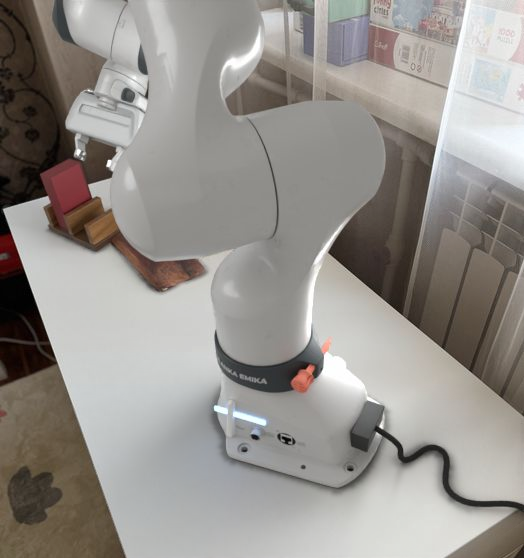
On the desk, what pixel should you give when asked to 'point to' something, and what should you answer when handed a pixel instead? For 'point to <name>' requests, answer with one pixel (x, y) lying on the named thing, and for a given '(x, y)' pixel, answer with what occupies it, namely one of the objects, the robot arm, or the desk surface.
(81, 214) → the book rack
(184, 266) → the brown flat bent piece
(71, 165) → the book
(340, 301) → the desk surface
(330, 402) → the robot arm
